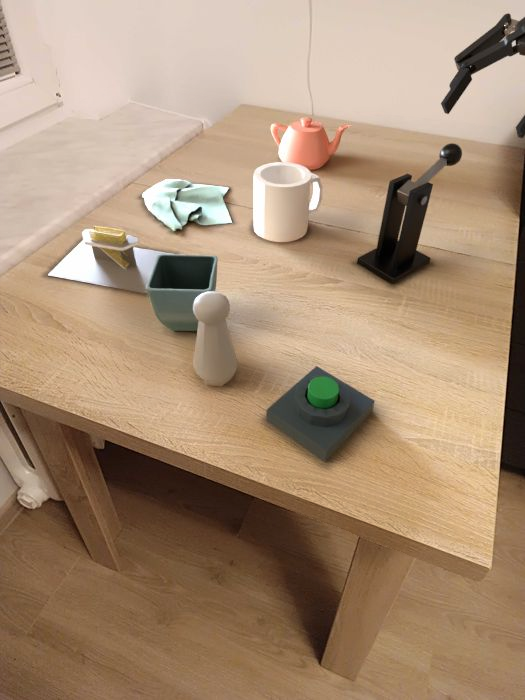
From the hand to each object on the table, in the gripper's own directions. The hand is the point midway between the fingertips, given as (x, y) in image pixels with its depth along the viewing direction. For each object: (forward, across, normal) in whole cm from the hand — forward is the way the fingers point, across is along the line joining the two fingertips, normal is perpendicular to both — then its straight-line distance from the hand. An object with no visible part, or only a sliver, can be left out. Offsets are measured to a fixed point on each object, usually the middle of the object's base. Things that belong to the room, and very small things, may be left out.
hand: (479, 120), depth 80 cm
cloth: (+37, +39, +8) cm, 55 cm away
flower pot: (+51, +9, +22) cm, 56 cm away
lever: (+12, 0, +2) cm, 12 cm away
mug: (+30, +21, +1) cm, 37 cm away
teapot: (+13, +40, -16) cm, 46 cm away
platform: (+53, +30, +23) cm, 65 cm away
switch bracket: (+26, 0, -4) cm, 26 cm away
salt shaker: (+54, -3, +24) cm, 59 cm away
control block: (+49, -16, +20) cm, 56 cm away
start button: (+47, -17, +23) cm, 55 cm away
